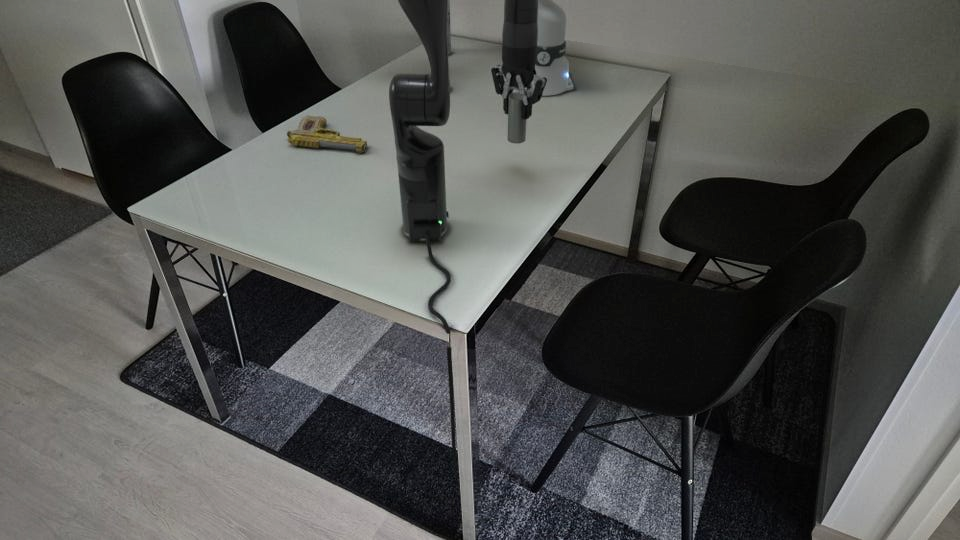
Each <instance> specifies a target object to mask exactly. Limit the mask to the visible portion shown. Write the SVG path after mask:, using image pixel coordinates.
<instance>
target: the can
mask: <svg viewBox="0 0 960 540" xmlns="http://www.w3.org/2000/svg"><path fill="white" fill-rule="evenodd" d="M523 104H524V103H523V99H522V95H520V91H519V92H518V91H517V92H513V93H511V94H509V102H508V115H507V141H508V142H509V143H511V144H523V143H525V142H526V139H527V120H528V119H526V120H523V119H522V109H523Z"/></svg>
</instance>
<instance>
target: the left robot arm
mask: <svg viewBox="0 0 960 540" xmlns="http://www.w3.org/2000/svg"><path fill="white" fill-rule="evenodd" d="M397 2H398V4H399V5H400V7H401V9H402V11H403V13H404V14H405V16H406V18H407V19H408V21H409V22H410V24H411V25H412V27H413V29H414V30H415V32H416V34H417V35H418V37H419V39H420V41H421V43H422V46H423V47H424V49H425V52H426V56H427V58H428V62H429V67H430V73H396V74H394V75H393V76H392V77H391V80H390V83H389V88H388V100H389V110H390V115H391V122H392V123H391V124H392V129H393V137H394V146H395V151H396V152H395V153H396V154H395V155H396V163H397V176H398V185H399V197H400V208H401V218H402V219H401V220H402V233H403V234H404V236H405V237H406V238H407V239H408V240H409V242H410V243H426V247H427V253H428V257H429V260H430V262H431V263H432V264H433V266H435V267H436V268H437V269H438V270H439V271H441V272H442V273H444V274H445V277H446V281H445V283H444V284H442V285H441V286H440V287H439V288H438V289H437V290H436V291H434V293H432V294H431V296H430V297H429V300H428V302H427V307H428V310H429V312H430V313H431V314H432V315H434V316H435V317H436V318H437V319H438V320H440V322H441V324H442V325H443V328H444V330H445V333H446V334H447V335H449V334H451V329H450V326H449V323H448V322H447V320H446V318H445V317H444V316H443V314H440V312H438V311H437V310H436V309H435V308H434V307H433V303H434V300H435V299H436V297H438V296H439V294H441V293H442V292H443V291H445V290H446V288H448V286H449V285H450V283H451V274H450V272H449V271H448V270H447V268H445V267H443V266H442V265H441V264H440V263H439V262H437V260H436V259H435V257H434V254H433V249H432V244H431V243H432V242H435V243H436V242H440V241H441V238H443V237H444V236H446V234H447V232H448V229H449V227H448V225H449V224H448V219H449V218H450V217H449V215H450V214H449V211H448V210H447V190H446V188H447V187H446V166H445V165H446V164H445V163H446V162H445V145H444V142H443V140H442V139H441V138H440V137H438V136H437V135H435V134H432V133H430V132H427V131H425V130H423V129H421V128H420V127H443V126H445V125H447V123H448V121H449V118H450V114H451V82H450V83H449V80H450V68H449V66H450V65H449V55H448V45H447V14H448V0H397ZM503 3H504V4H503V5H504V6H503V23H502V24H503V25H502V35H501V36H502V37H501V41H502V42H501V62H502V65H500V64H497V65H495V66H493V67H491V69H490V72H491V77H492V81H493V86H494V90H495V93H496V94H497V95H500V96H501V97H502V99H503V101H502V102H503V103H502V104H503V105H502V110H503V111H504V114H505V115H507V116H508V102H509V94H511V93H514V90H515V88H516V87H517V89H518V91H519V92H520V95H522V99H523V103H524V104H523V109H522V119H523V120H526V119H527V120H528V119H529V118H530V117H532V114H533V105H534V104H537V103H538V102H540V101H541V99H542V97H543V96H542V94H543V91H544V88H545V85H546V83H547V78H546V77H543V78H541V77H539V76H538V75H536V70H535V64H536V59H537V41H538V23H537V19H538V0H504V2H503ZM533 80H534V86H535V88H534V91H533V86H532V81H533ZM526 87H527V88H526ZM525 88H526V89H525ZM532 91H533V93H532ZM527 120H526V121H527ZM446 360H447V362H446V363H447V373H448V374H447V375H448V390H449V391H448V392H449V408H450V409H449V411H450V433H451V455H452V474H453V477H454V476H457V475H458V470H457V469H458V468H457V467H458V466H457V446H456V445H457V444H456V443H457V442H456V417H455V416H456V415H455V393H454V376H453V375H454V374H453V359H452V347H451V346H447V347H446Z"/></svg>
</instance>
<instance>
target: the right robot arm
mask: <svg viewBox="0 0 960 540" xmlns="http://www.w3.org/2000/svg"><path fill="white" fill-rule="evenodd" d="M537 23H538V41H537V59H536V64H535V70H536V75H538V76H539V77H541V78H543V77H546V78H547V83H546V85H545V88H544V91H543V94H542V97H546V96H547V97H548V96H549V97H550V96H556V95H560V94H562V93H564V92H569V91H572V90H574V89H575V88H574V87H575V86H574V83H573V80H572V78H571V76H570V71H569V69H570V62H569V60H568V59H567V58H566V56H565V55H566V49H567V41H566V39H565V38H566V27H567V15H566V12H565V11H564V9H563V8H562V7H561V6H560V5H559V4H557V3H556V2H554V0H538V19H537ZM532 86H533V91H534V88H535V86H534V80H533V81H532ZM515 88H517V87H515ZM526 88H527V87H526ZM526 88H525V89H526ZM517 89H518V88H517ZM533 91H532V93H533Z"/></svg>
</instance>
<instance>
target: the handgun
mask: <svg viewBox="0 0 960 540" xmlns="http://www.w3.org/2000/svg"><path fill="white" fill-rule="evenodd" d="M327 122H328V121H327V119H326V117H324V116H317V115H303V116H302V117H301V118H300V121H299V122H298V123H299V124H298V128H297V129H293V130H291V129H290V130H289V129H288V130H287V131H286V136H287V142H288V143H292V144H293V145H294V146H298V147H305V148H306V147H307V148H315V149H319V148H321V147H322V148H330V149H337V150H347V151H355V152H356V153H360V154H363V153H364V152H366V151H367V147H368V141H367V140H362V139H363V138H362V137H354V136H342V135H341V132H340V131H338V130H333V129H326V128H324V127H325V125H327Z"/></svg>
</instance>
